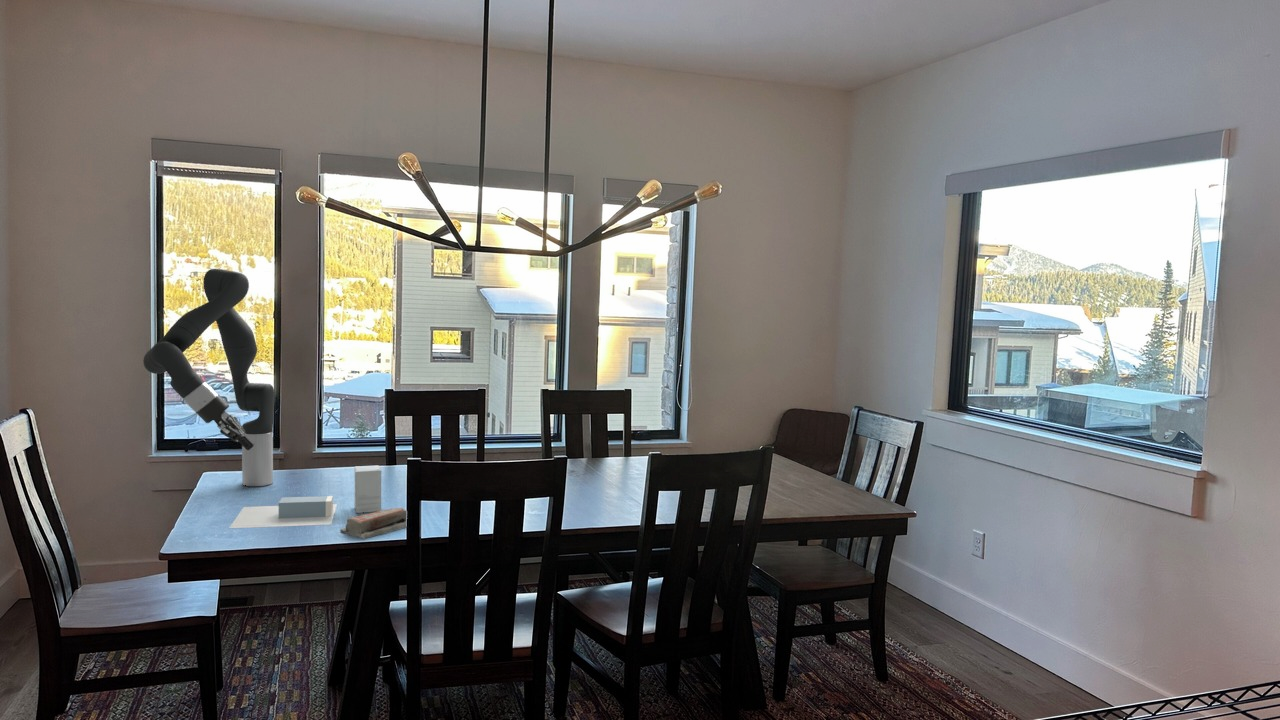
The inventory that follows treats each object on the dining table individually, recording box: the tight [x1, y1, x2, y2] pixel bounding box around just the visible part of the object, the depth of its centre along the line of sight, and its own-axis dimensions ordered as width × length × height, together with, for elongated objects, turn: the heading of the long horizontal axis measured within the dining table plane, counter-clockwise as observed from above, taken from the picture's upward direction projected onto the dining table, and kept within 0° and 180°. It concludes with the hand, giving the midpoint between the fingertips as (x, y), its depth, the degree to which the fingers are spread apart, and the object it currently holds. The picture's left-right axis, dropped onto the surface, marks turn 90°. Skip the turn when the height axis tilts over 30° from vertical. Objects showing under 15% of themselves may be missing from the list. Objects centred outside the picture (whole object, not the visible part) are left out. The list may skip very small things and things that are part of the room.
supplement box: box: [354, 464, 382, 514], centre depth 252 cm, size 7×7×13 cm
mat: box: [228, 503, 338, 529], centre depth 241 cm, size 22×26×1 cm
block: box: [278, 495, 334, 519], centre depth 243 cm, size 6×4×14 cm
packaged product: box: [340, 507, 407, 540], centre depth 234 cm, size 18×5×10 cm
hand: (251, 447), depth 239 cm, fingers closed
